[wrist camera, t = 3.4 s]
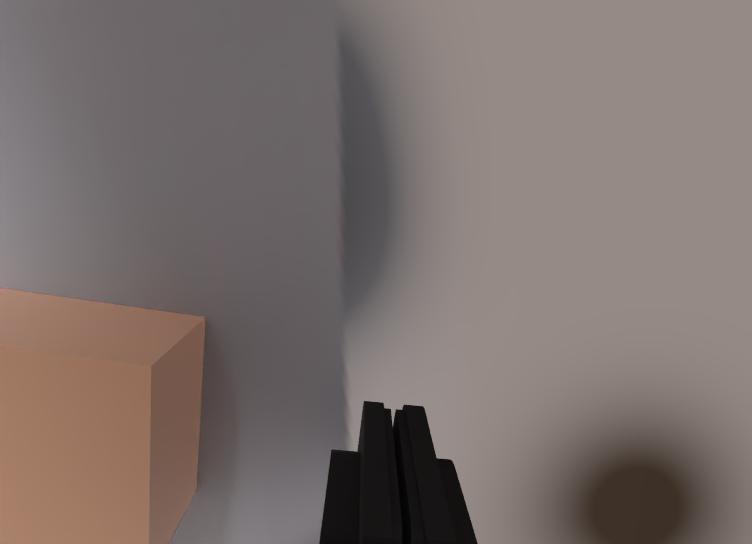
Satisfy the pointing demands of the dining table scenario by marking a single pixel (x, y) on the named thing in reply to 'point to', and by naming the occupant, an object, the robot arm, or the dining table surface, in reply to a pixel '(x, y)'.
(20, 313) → the terracotta tile
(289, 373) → the dining table surface
